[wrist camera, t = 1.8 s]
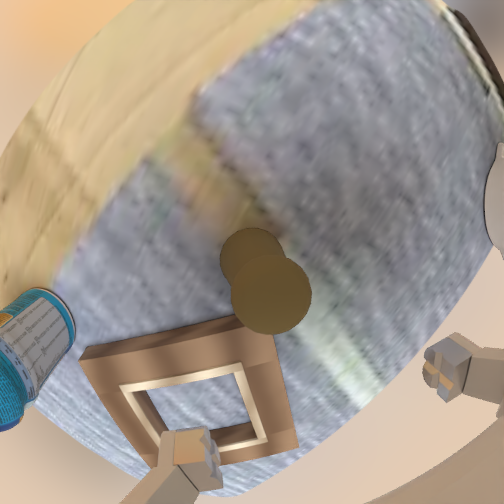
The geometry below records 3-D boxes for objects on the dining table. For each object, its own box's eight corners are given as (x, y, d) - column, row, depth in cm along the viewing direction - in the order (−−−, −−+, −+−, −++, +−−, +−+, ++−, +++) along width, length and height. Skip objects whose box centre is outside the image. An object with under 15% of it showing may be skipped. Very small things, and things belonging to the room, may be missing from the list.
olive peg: (264, 299, 29) (293, 360, 18) (208, 274, 27) (208, 328, 17) (294, 245, 28) (342, 281, 17) (238, 216, 27) (256, 237, 16)
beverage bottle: (87, 312, 27) (-14, 449, 7) (68, 365, 28) (-4, 490, 8) (28, 270, 25) (-100, 357, 5) (15, 326, 26) (-79, 423, 6)
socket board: (263, 307, 29) (269, 321, 26) (293, 432, 34) (299, 449, 31) (87, 346, 27) (77, 362, 24) (156, 457, 32) (154, 474, 29)
